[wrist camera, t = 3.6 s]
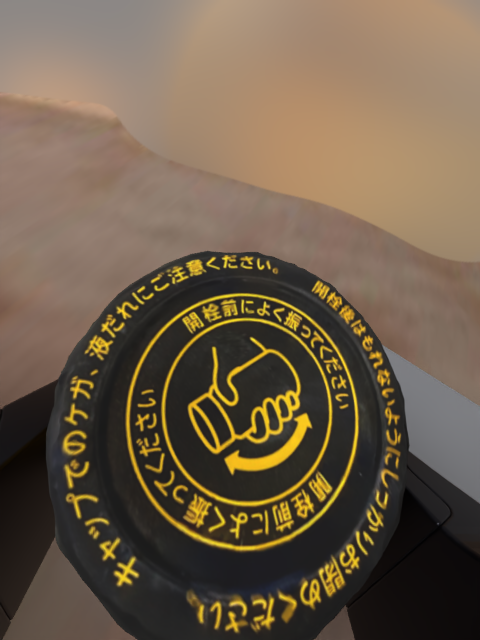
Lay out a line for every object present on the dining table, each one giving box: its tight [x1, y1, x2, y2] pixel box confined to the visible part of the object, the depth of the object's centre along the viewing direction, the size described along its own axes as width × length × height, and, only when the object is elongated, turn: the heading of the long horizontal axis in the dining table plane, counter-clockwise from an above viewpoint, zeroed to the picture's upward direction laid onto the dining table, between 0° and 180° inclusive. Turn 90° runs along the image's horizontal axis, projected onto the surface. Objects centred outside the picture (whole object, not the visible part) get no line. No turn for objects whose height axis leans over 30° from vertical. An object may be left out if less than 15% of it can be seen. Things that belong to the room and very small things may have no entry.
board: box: [382, 345, 480, 503], centre depth 15 cm, size 14×12×1 cm
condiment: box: [46, 251, 410, 640], centre depth 9 cm, size 7×8×12 cm
